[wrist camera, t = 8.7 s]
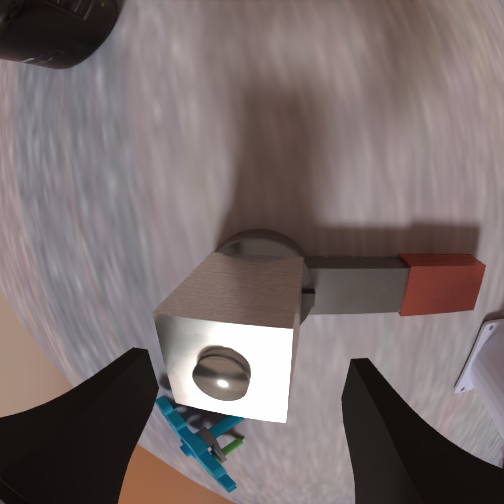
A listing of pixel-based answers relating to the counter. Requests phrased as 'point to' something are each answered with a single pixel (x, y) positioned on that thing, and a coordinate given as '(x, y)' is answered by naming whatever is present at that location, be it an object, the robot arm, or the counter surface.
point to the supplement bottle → (54, 30)
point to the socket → (234, 334)
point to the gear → (204, 442)
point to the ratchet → (373, 279)
